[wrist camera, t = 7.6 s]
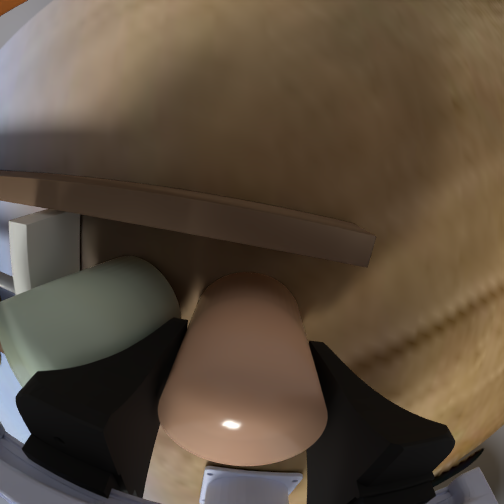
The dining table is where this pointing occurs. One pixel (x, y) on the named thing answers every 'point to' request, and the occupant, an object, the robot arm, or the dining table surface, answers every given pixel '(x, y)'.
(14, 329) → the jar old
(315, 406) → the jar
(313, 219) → the lane
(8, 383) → the dining table surface
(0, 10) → the alarm clock
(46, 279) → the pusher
